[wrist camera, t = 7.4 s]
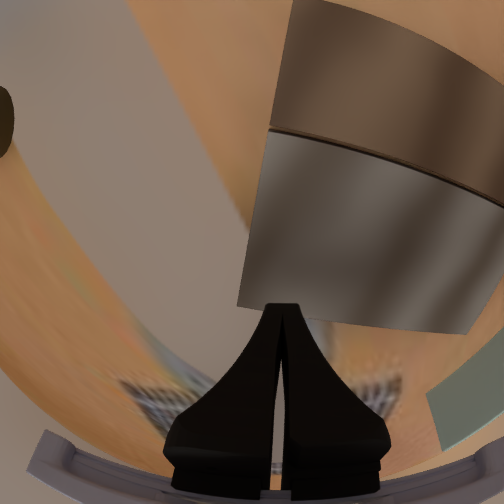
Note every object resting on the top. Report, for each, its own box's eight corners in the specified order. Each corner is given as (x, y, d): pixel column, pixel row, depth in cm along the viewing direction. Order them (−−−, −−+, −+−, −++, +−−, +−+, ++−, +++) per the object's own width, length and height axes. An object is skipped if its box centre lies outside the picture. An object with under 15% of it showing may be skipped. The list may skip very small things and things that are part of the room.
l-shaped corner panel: (425, 392, 24) (442, 451, 17) (510, 317, 18) (545, 372, 12) (464, 407, 26) (478, 451, 19) (530, 349, 21) (553, 392, 14)
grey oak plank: (515, 212, 13) (527, 221, 12) (459, 322, 18) (466, 334, 17) (269, 128, 13) (268, 131, 12) (239, 291, 18) (236, 306, 17)
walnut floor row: (538, 124, 10) (551, 128, 9) (516, 209, 13) (528, 217, 12) (292, 4, 10) (294, -6, 9) (270, 122, 13) (269, 124, 12)
